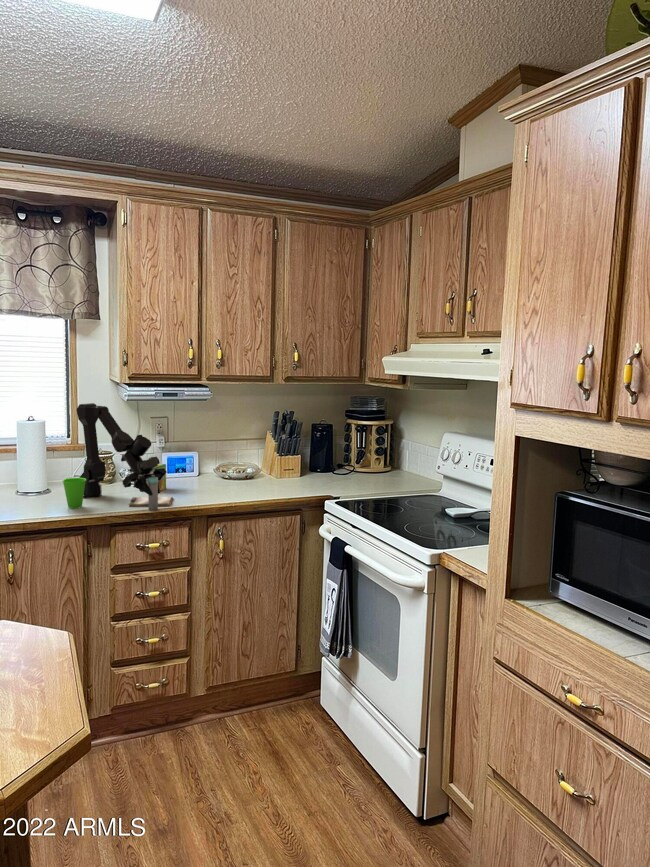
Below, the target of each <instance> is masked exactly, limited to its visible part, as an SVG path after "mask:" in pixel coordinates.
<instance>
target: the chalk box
mask: <svg viewBox="0 0 650 867" xmlns="http://www.w3.org/2000/svg"><path fill="white" fill-rule="evenodd" d="M153 457H154V456H150V457H148V459H151V458H153ZM157 468H165V470H166V471H167V464H166V463H159V464H158V466H155V467H153V468H152V469H153V470H152V471H151V472H150V473H153V472H154V471H155V469H157ZM146 483H147V484H148V479H146ZM158 483H159V488H160V492H161V491H164V490H166V489H167V473H166V474H165V475H164V476H163V478H162V479H161V480H159V481H158ZM139 492H143V491H142V490H140V489H139Z"/></svg>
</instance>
